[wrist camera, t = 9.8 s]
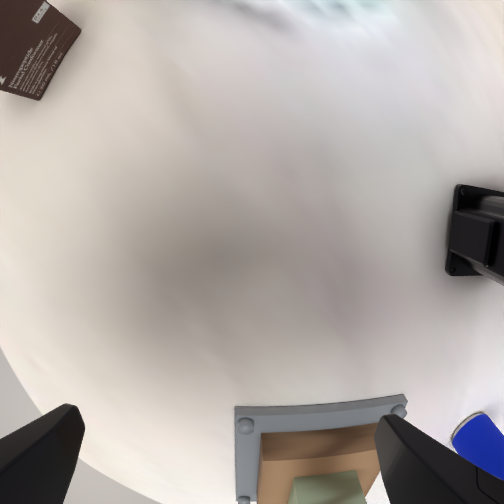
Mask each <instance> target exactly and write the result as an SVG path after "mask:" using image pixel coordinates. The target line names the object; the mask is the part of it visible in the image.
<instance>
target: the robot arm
mask: <svg viewBox="0 0 504 504" xmlns="http://www.w3.org/2000/svg"><path fill="white" fill-rule="evenodd" d="M461 189H462V190H463V193H462V194H461ZM452 267H453V270H452V271H451V269H452ZM446 273H447V274H449V275H450V276H476V275H485V276H487V277H488V278H490V279H492V280H494V281H496V282H498V283H500V284H502V285H503V286H504V192H499V191H494V190H490V189H485V188H480V187H475V186H469V185H464V184H459V185H457V186H456V189H455V200H454V211H453V221H452V230H451V237H450V245H449V251H448V258H447V264H446ZM84 432H85V424H84V421H83V419H82V416H81V414H80V411H79V409H78V407H77V406H75V405H71V404H67V403H65V404H63V405H61V406H59V407H57V408H56V409H54V410H52V411H50V412H49V413H47V414H45V415H43V416H41V417H40V418H38V419H36V420H34V421H32V422H31V423H29V424H27V425H25V426H23V427H22V428H20V429H18V430H16V431H14V432H12V433H11V434H9V435H7V436H5V437H3V438H1V439H0V504H63V502H64V499H65V496H66V493H67V490H68V488H69V485H70V482H71V479H72V476H73V473H74V471H75V467H76V464H77V460H78V456H79V452H80V448H81V444H82V440H83V436H84ZM374 442H375V446H376V451H377V456H378V460H379V465H380V470H381V475H382V479H383V483H384V486H385V489H386V492H387V495H388V498H389V501H390V504H504V480H502V479H500V478H498V477H496V476H494V475H492V474H490V473H488V472H487V471H485V470H483V469H482V468H480V467H477V466H476V465H475V464H473V463H471V462H470V461H468V460H466V459H465V458H463V457H462V456H460V455H458V454H457V453H455V452H454V451H452V450H450V449H449V448H447V447H446V446H444V445H442V444H441V443H439V442H438V441H436V440H435V439H433V438H432V437H430V436H428V435H427V434H425V433H424V432H422V431H421V430H419V429H418V428H416V427H415V426H413V425H412V424H410V423H409V422H407V421H406V420H404V419H403V418H401V417H400V416H398V415H397V414H394V413H392V414H386V415H382V416H381V418H380V420H379V423H378V425H377V428H376V430H375V433H374Z"/></svg>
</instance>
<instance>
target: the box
mask: <svg viewBox="0 0 504 504" xmlns="http://www.w3.org/2000/svg"><path fill="white" fill-rule="evenodd" d="M80 32H81V29H80V28H79V27H78V26H76V25H75V24H74V23H73V22H72V21H70V20H69V19H68V18H67V17H65V16H64V15H63V14H62V13H60V12H59V11H58V10H57V9H56V8H55V7H53V6H52V5H51V4H49V3H48V2H47V1H46V0H0V90H2V91H5V92H9V93H12V94H16V95H20V96H24V97H27V98H30V99H34V100H37V101H38V100H39V99H40V97H41V95H42V93H43V91H44V89H45V88H46V86H47V84H48V82H49V80H50V78H51V76H52V74H53V73H54V71H55V70H56V68H57V66H58V64H59V63H60V61H61V59H62V58H63V56H64V54H65V53H66V51H67V50H68V48H69V47H70V45H71V44H72V43H73V41H74V40H75V38H76V37H77V36H78V35H79V33H80Z"/></svg>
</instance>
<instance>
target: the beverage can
mask: <svg viewBox="0 0 504 504" xmlns="http://www.w3.org/2000/svg"><path fill="white" fill-rule="evenodd" d="M452 445H453V446H454V448H455V450H456V451H457V453H458V454H459V455H460V456H462V457H463V458H465V459H466V460H468V461H470V462H471V463H473V464H475V465H476V466H477V467H480V468H482V469H483V470H485V471H487V472H488V473H490V474H492V475H494V476H496V477H498V478H500V479H502V480H504V435H503V434H502V433H501V432H500V430H499V429H498V428H497V427H496V426H495V424H494V423H493V422H492V421H491V419H490V418H489V417H488V416H487V415H486V414H481V413H479V414H475V415H473V416H471V417H469V418H468V419H466V420H465V421H464V422H463V423H462V424H461V425H460V426H459V427H458V428H457V429H456V431H455V433H454V435H453V439H452Z"/></svg>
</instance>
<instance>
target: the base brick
mask: <svg viewBox="0 0 504 504" xmlns="http://www.w3.org/2000/svg"><path fill="white" fill-rule="evenodd" d="M378 423H379V422H377V423H371V424H365V425H358V426H350V427H342V428H333V429H323V430H311V431H296V432H271V433H261V440H260V454H259V468H258V481H257V504H288V500H289V496H290V492H291V488H292V483H293V479H294V477H301V476H312V475H322V474H330V473H337V472H344V471H350V470H356V472H357V475H358V478H359V481H360V484H361V487H362V490H363V493H364V496H365V497H366V495H367V493H368V491H369V490H370V488H371V486H372V484H373V483H374V481H375V479H376V477H377V475H378V474H379V472H380V465H379V460H378V456H377V451H376V446H375V442H374V433H375V430H376V428H377V425H378Z"/></svg>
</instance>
